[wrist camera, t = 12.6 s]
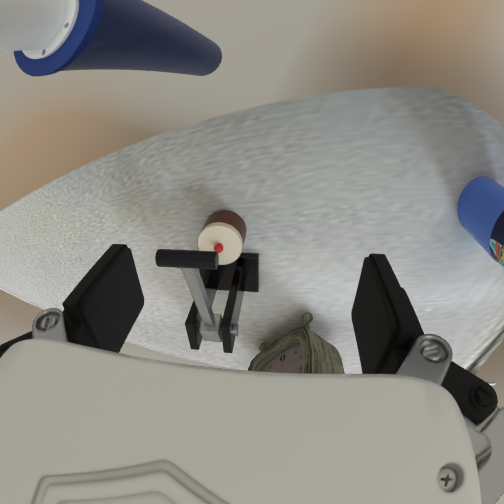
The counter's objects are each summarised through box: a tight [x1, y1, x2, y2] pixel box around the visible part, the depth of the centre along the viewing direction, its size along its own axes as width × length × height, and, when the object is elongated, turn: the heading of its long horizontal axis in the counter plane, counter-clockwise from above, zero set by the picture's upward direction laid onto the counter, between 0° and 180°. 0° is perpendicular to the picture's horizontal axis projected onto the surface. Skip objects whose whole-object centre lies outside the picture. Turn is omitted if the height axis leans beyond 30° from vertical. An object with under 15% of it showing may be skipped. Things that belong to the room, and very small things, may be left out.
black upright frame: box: [185, 253, 259, 353], centre depth 38 cm, size 6×9×14 cm, turn 91°
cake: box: [198, 210, 246, 265], centre depth 38 cm, size 6×6×6 cm
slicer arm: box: [155, 249, 222, 342], centre depth 29 cm, size 15×5×2 cm, turn 1°
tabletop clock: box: [248, 313, 345, 374], centre depth 39 cm, size 14×9×25 cm, turn 140°
